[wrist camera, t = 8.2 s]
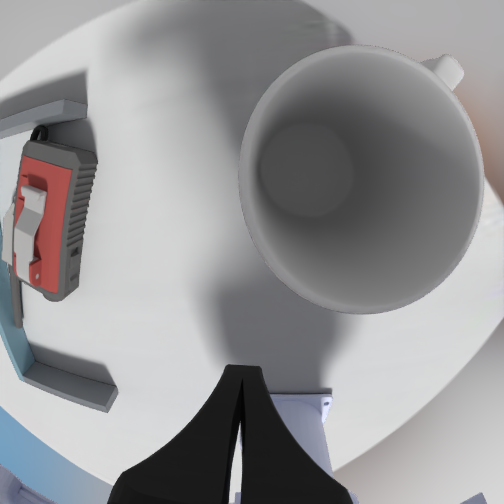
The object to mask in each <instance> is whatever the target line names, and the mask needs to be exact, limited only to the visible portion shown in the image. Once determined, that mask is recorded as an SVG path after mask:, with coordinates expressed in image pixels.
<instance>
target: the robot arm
mask: <svg viewBox="0 0 504 504" xmlns="http://www.w3.org/2000/svg"><path fill="white" fill-rule="evenodd" d="M332 401H333V397H332V395H331V394H308V395H282V394H269V392H268V390H267V387H266V384H265V381H264V378H263V374H262V369H261V368H260V367H259V366H245V365H231V364H228V365H227V366H225V369H224V372H223V374H222V376H221V378H220V380H219V382H218V384H217V386H216V387H215V389H214V390H213V392H212V394H211V395H210V397H209V398H208V400H207V401H206V402H205V404H204V405H203V406H202V408H201V409H200V410H199V412H198V413H197V414H196V415H195V417H194V418H193V419H192V420H191V421H190V422H189V423H188V424H187V425H186V426H185V427H184V429H183V430H182V431H180V432H179V433H178V434H177V435H176V436H175V437H174V438H173V439H172V440H171V441H169V442H168V443H167V444H166V445H165V446H163V447H162V448H161V449H159V450H158V451H157V452H155V453H154V454H152V455H151V456H150V457H148V458H147V459H145V460H144V461H142V462H140V463H138V464H137V465H135V466H133V467H131V468H130V469H128V470H126V471H124V472H122V474H121V475H120V476H119V478H118V479H117V481H116V483H115V485H114V486H113V489H112V491H111V494H110V497H109V500H108V502H107V504H359V501H358V498H357V496H356V494H355V493H353V492H351V491H349V490H348V489H346V488H345V487H344V486H342V485H341V484H340V483H338V482H337V481H336V480H335V479H333V473H332V468H331V463H330V457H329V452H328V447H327V442H326V437H325V432H324V427H323V425H324V423H325V420H326V417H327V415H328V412H329V409H330V406H331V404H332ZM325 402H326V403H325ZM240 424H241V444H240V449H241V450H242V484H241V492H236V493H235V503H229V492H230V479H231V469H232V462H233V457H234V451H235V446H236V441H237V435H238V430H239V425H240ZM0 504H58V503H56V502H54V501H52V500H50V499H48V498H46V497H45V496H43V495H41V494H39V493H38V492H36V491H34V490H33V489H31V488H29V487H28V486H26V485H25V484H23V483H22V481H20V479H18V477H16V476H15V475H14V474H13V473H12V472H11V471H9V470H8V469H6V468H5V467H4V466H2V465H1V464H0ZM460 504H487V502H486V500H485V498H484V496H483V494H482V493H479V494H477V495H475V496H473V497H471V498H469V499H468V500H466V501H464V502H462V503H460Z"/></svg>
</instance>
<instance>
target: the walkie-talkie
mask: <svg viewBox="0 0 504 504" xmlns="http://www.w3.org/2000/svg"><path fill="white" fill-rule="evenodd" d="M40 131H41V139H40V140H37V138H38V135H39V133H40ZM47 140H48V129H47V128H46V127H45V126H41V125H39V126H36V127H35V128H34V130H33V132H32V134H31V137H30V140H28V141H27V142H26V144H25V145H24V147H23V151H22V155H21V161H20V167H19V174H18V181H17V188H16V195H15V196H14V202H13V203H12V205H11V207H10V208H9V210H8V211H7V213H6V215H5V216H4V218H3V250H2V260H4V261H5V262H7V263H8V269H9V273H10V285H11V298H12V308H13V316H14V323H15V327H16V328H18V329H20V328H22V326H23V321H22V312H21V301H20V285H19V280H20V281H22V282H24V284H26V285H29V286H30V287H32V288H34V289H35V290H37V291H39V292H41V293H42V294H43V296H44V297H45V298H46V299H47V300H49V301H52V302H58V301H62V300H63V299H64V298H66V297H67V296H68V295H69V294H70V293H72V292H73V291H74V290H75V289H76V288H78V286H79V274H80V263H81V254H82V246H83V234H84V228H85V221H86V214H87V213H88V212H87V207H89V205H88V202H89V200H90V193H91V192H92V191H91V187H92V186H93V179H95V176H94V174H95V172H96V170H97V169H96V166H97V164H98V161H97V159H96V156H95V154H94V152H90V151H86V150H83V149H79V148H75V147H71V146H67V145H64V144H60V143H56V142H52V141H47Z"/></svg>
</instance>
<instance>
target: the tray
mask: <svg viewBox="0 0 504 504" xmlns="http://www.w3.org/2000/svg"><path fill="white" fill-rule="evenodd" d="M86 115H87V105H86V104H82V103H78V102H74V101H70V100H66V99H62V100H58V101H55V102H51V103H48V104H44V105H41V106H38V107H35V108H32V109H29V110H26V111H23V112H20V113H17V114H14V115H12V116H9V117H6V118H4V119H1V120H0V139H2V138H5V137H8V136H11V135H15V134H18V133H22V132H25V131H29V130H32V129H34V128H35V127H36V126H39V125H41V126H48V125H53V124H57V123H62V122H66V121H71V120H77V119H82V118H86ZM2 250H3V240H2V232H1V224H0V335H1V337H2V340H3V342H4V345H5V347H6V350H7V352H8V355H9V357H10V359H11V362H12V364H13V366H14V368H15V371H16V373H17V375H18V377H19V379H20V380H21V381H23V382H26V383H28V384H30V385H32V386H34V387H37V388H39V389H41V390H43V391H46V392H48V393H51V394H53V395H56V396H58V397H61V398H64V399H66V400H69V401H72V402H74V403H77V404H80V405H83V406H86V407H89V408H92V409H96V410H99V411H102V412H105V413H108V412H109V410H110V408H111V406H112V404H113V403H114V401H115V399H116V397H117V395H118V390H117V387H116V386H113V385H109V384H105V383H101V382H97V381H94V380H90V379H87V378H83V377H80V376H77V375H74V374H70V373H67V372H64V371H61V370H58V369H55V368H53V367H50V366H47V365H44V364H42V363H39V362H36V361H35V359H34V357H33V354H32V351H31V349H30V346H29V343H28V341H27V338H26V335H25V332H24V329H23V326H22V328H20V329H18V328H16V327H15V323H14V316H13V308H12V298H11V285H10V278H9V274H8V269H7V264H6V262H5V261H4V260H2Z"/></svg>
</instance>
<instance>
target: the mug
mask: <svg viewBox="0 0 504 504" xmlns="http://www.w3.org/2000/svg"><path fill="white" fill-rule="evenodd" d="M463 76H464V71H463V69H462V68H461V66H460V64H459V63H458V62H457V61H456V60H455V59H454V58H453V57H452V56H450V55H448V54H444V55H442V56H441V57H439V58H436V59H429V60H426V61H423V62H420V63H419V62H417V61H415V60H414V59H412V58H410V57H407V56H405V55H403V54H401V53H398V52H396V51H393V50H389V49H386V48H381V47H376V46H369V45H345V46H338V47H333V48H329V49H325V50H322V51H319V52H316V53H314V54H311V55H309V56H307V57H305V58H303V59H302V60H300V61H298V62H297V63H295V64H294V65H292V66H291V67H289V68H288V69H287V70H286V71H284V72H283V73H282V74H281V75H280V76H279V77H278V78H277V79H276V80H275V81H274V82H273V83H272V84H271V85H270V86H269V88H268V89H267V90H266V91H265V93H264V94H263V96H262V97H261V99H260V100H259V102H258V103H257V105H256V107H255V109H254V111H253V113H252V115H251V117H250V119H249V122H248V124H247V127H246V130H245V133H244V137H243V141H242V145H241V151H240V158H239V171H238V179H239V194H240V201H241V206H242V210H243V214H244V218H245V221H246V225H247V227H248V230H249V233H250V235H251V238H252V240H253V242H254V244H255V246H256V248H257V250H258V251H259V253H260V255H261V256H262V258H263V259H264V261H265V262H266V264H267V265H268V266H269V268H270V269H271V270H272V272H273V273H274V274H275V275H276V276H277V277H278V278H279V279H280V280H281V281H282V282H283V283H284V284H285V285H286V286H287V287H288V288H289V289H291V290H292V291H293V292H295V293H296V294H297V295H299V296H301V297H302V298H304V299H306V300H308V301H310V302H312V303H314V304H316V305H318V306H321V307H323V308H326V309H330V310H333V311H337V312H342V313H349V314H376V313H383V312H388V311H392V310H395V309H398V308H401V307H404V306H406V305H409V304H411V303H413V302H415V301H417V300H419V299H420V298H422V297H424V296H425V295H427V294H428V293H430V292H431V291H432V290H434V289H435V288H436V287H437V286H439V285H440V284H441V283H442V282H443V281H444V280H445V279H446V278H447V277H448V276H449V275H450V274H451V273H452V271H453V270H454V269H455V268H456V266H457V265H458V264H459V262H460V261H461V259H462V258H463V256H464V255H465V253H466V251H467V249H468V248H469V246H470V244H471V241H472V239H473V237H474V234H475V232H476V229H477V226H478V223H479V219H480V215H481V211H482V205H483V198H484V167H483V160H482V154H481V150H480V145H479V142H478V138H477V135H476V133H475V130H474V127H473V125H472V123H471V120H470V118H469V116H468V114H467V113H466V111H465V109H464V107H463V106H462V104H461V103H460V101H459V99H458V98H457V97H456V95H455V94H454V93H453V91H452V90H453V89H454V88H455V87H456V86H457V85H458V83H459V82H460V81H461V80H462V78H463Z"/></svg>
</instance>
